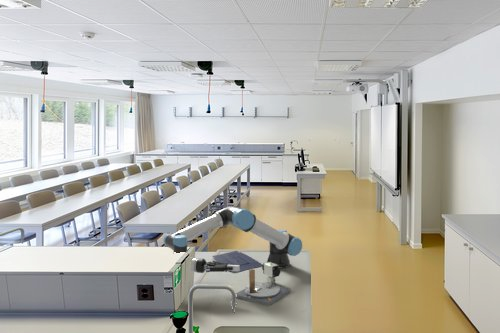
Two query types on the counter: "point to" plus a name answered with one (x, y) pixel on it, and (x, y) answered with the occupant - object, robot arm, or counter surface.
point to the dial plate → (263, 300)
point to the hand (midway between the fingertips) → (239, 268)
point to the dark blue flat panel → (237, 260)
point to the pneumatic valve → (271, 271)
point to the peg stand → (260, 288)
